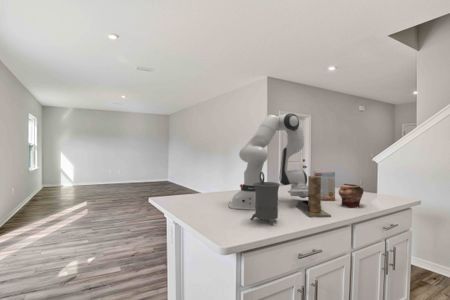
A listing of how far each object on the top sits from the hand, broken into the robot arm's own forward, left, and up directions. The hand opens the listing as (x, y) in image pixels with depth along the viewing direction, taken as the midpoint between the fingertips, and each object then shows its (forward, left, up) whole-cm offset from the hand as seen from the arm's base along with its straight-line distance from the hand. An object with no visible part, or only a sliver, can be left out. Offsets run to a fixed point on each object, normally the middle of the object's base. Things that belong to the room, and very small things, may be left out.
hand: (309, 195), depth 151 cm
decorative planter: (+32, +11, -9) cm, 35 cm away
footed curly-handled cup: (-31, -22, -9) cm, 39 cm away
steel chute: (0, -3, -9) cm, 10 cm away
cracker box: (+21, +29, -9) cm, 37 cm away
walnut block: (0, -7, -8) cm, 11 cm away
